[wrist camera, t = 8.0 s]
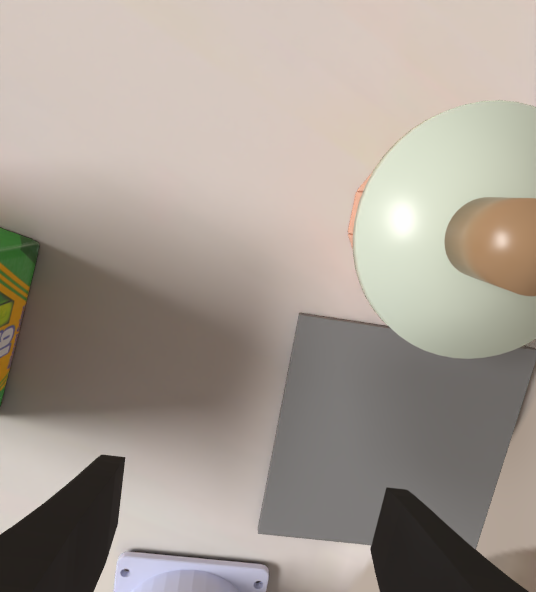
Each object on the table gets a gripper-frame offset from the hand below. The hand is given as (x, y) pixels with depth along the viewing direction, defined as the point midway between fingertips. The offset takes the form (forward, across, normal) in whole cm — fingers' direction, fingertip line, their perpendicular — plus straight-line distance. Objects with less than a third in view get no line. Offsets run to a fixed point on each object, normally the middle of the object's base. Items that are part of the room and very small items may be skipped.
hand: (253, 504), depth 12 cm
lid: (+5, -7, -8) cm, 12 cm away
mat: (+10, -8, +3) cm, 13 cm away
